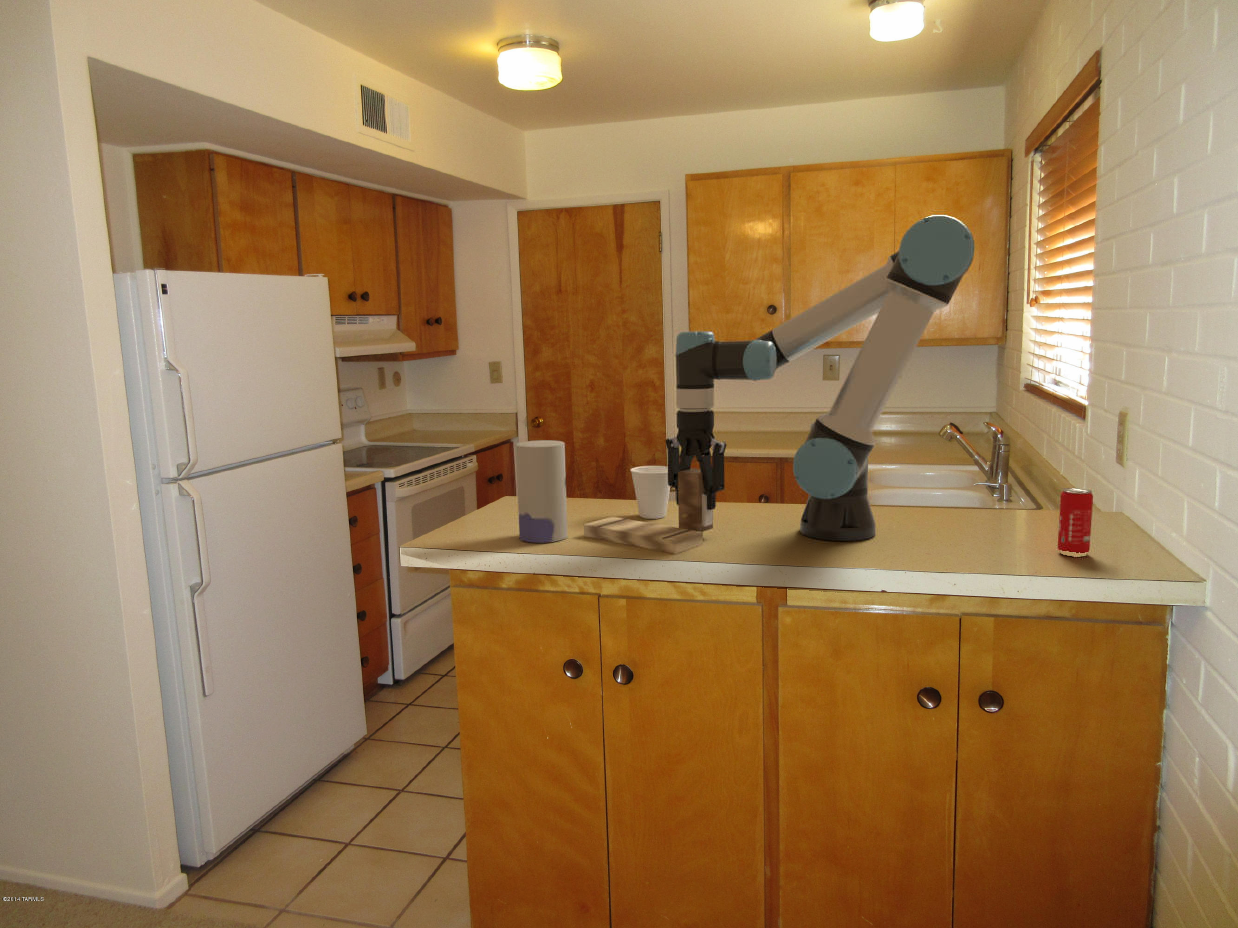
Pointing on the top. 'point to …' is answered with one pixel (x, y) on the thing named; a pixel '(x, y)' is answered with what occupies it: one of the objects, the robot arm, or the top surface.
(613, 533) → the plank
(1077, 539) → the beverage can
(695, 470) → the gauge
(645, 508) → the cup
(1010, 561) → the top surface
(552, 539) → the container
